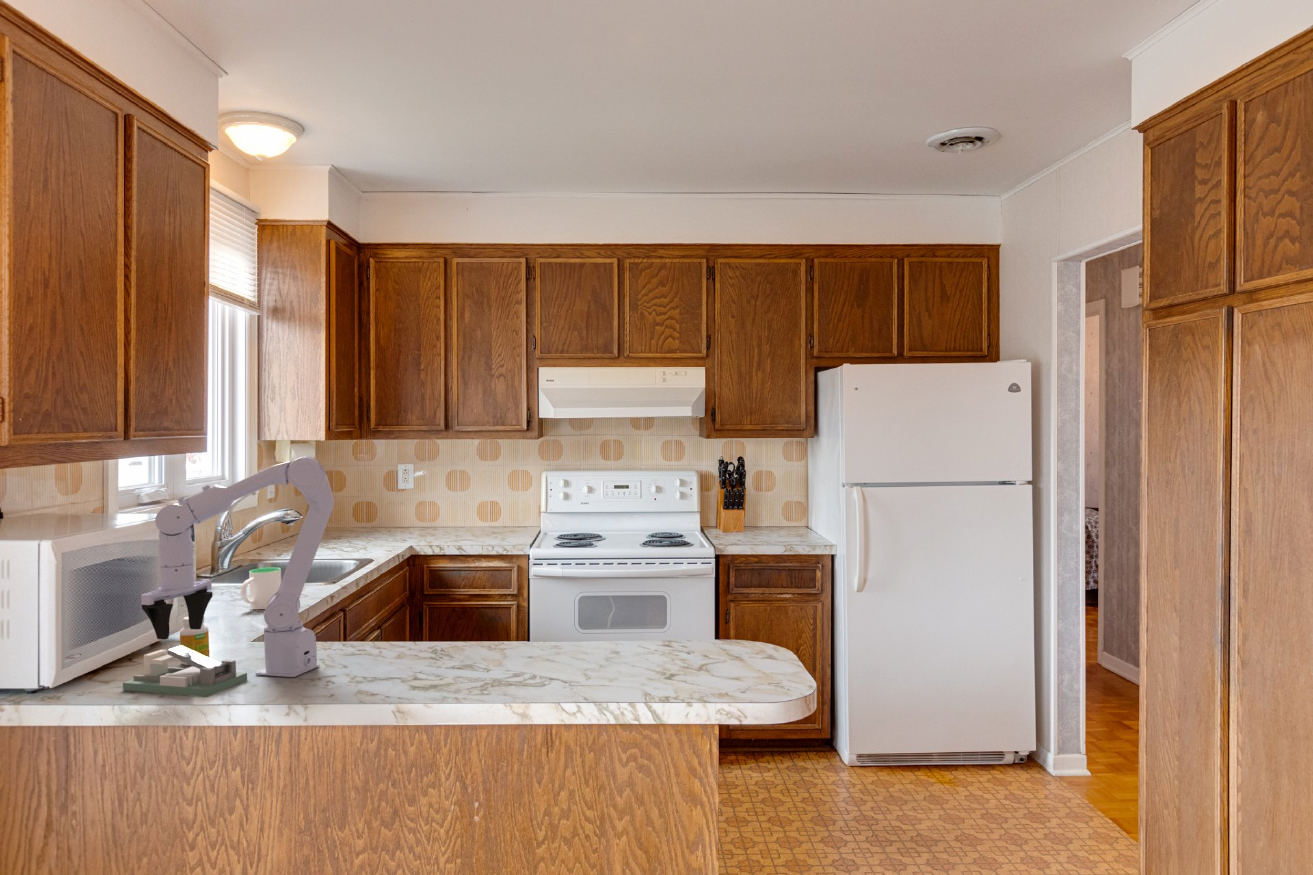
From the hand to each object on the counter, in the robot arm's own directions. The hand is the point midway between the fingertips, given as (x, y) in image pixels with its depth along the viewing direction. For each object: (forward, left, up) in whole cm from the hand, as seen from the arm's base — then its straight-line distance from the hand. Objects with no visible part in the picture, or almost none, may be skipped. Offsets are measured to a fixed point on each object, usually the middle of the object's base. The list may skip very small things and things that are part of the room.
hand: (179, 633), depth 162 cm
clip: (+4, +1, -8) cm, 9 cm away
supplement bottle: (+10, -13, -10) cm, 20 cm away
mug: (+36, -61, -10) cm, 72 cm away
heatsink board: (-2, +1, -10) cm, 10 cm away
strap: (-5, +1, -6) cm, 7 cm away
